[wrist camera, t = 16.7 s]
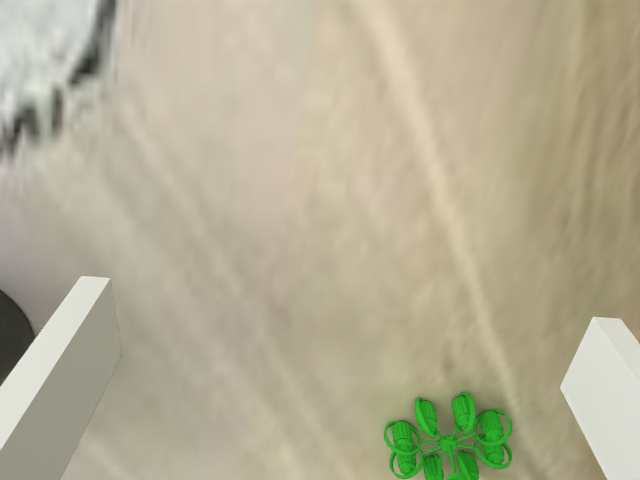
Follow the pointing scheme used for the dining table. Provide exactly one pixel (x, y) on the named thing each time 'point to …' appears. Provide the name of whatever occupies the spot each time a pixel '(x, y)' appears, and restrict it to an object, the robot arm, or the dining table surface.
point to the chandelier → (449, 441)
